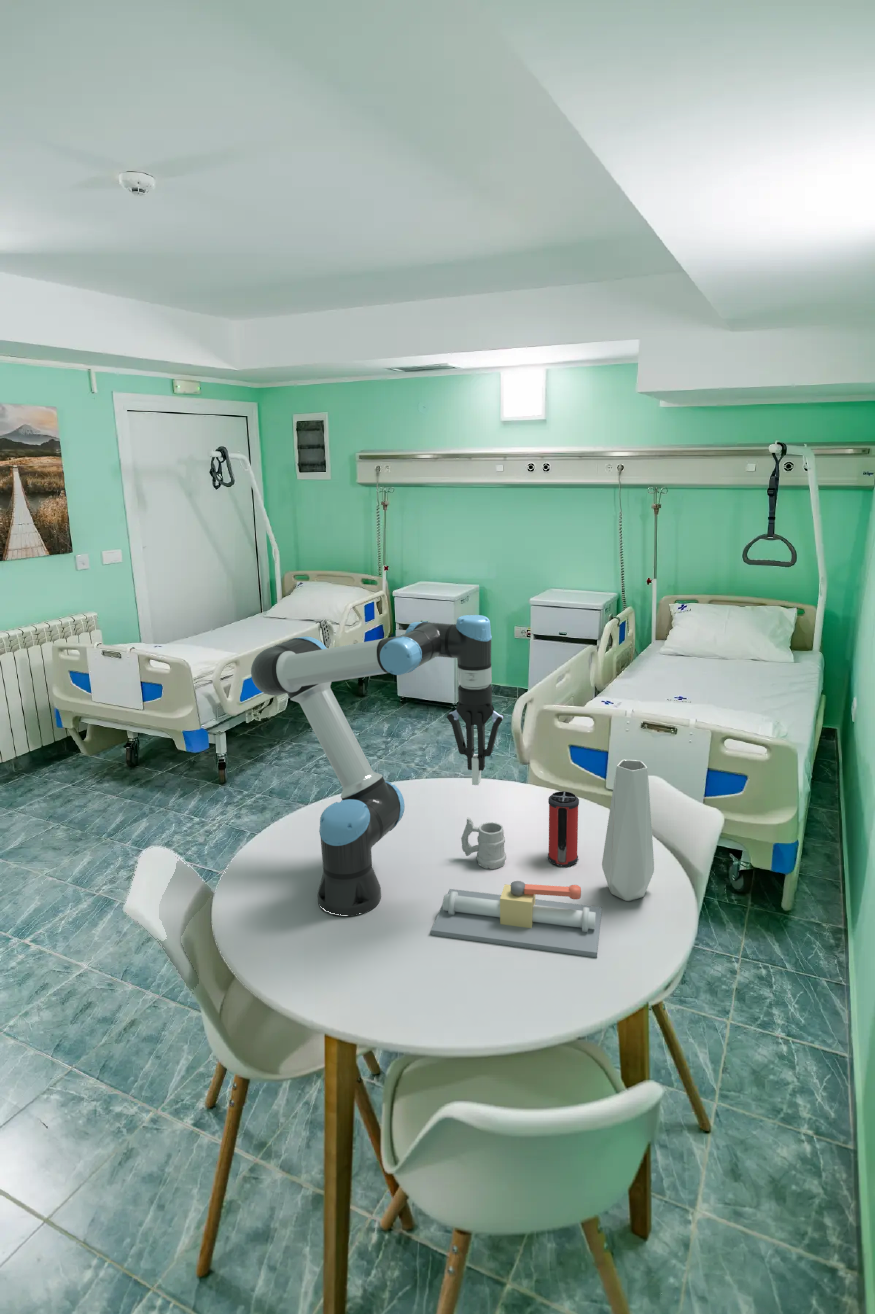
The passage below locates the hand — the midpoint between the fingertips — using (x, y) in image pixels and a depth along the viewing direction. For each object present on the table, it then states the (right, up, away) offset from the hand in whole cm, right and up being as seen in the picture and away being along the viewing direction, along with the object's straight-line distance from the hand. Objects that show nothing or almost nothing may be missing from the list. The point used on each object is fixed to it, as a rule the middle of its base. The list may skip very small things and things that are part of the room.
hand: (476, 782), depth 174 cm
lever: (+15, -24, -7) cm, 29 cm away
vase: (+36, -28, +7) cm, 46 cm away
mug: (+3, -25, +23) cm, 34 cm away
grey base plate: (+9, -31, -4) cm, 33 cm away
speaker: (+24, -24, +22) cm, 41 cm away
